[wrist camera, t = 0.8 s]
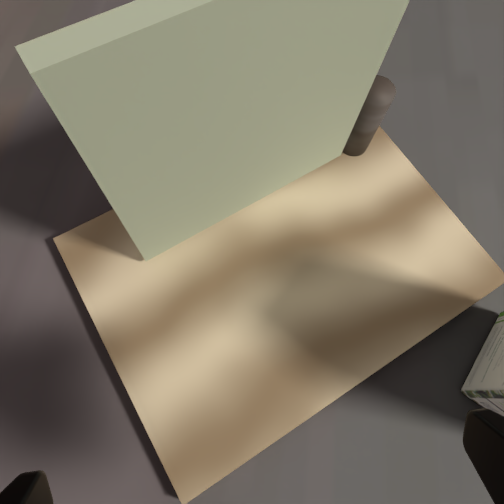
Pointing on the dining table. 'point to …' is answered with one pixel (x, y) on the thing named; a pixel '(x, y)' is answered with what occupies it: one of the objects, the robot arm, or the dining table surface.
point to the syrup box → (489, 372)
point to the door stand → (277, 301)
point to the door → (209, 100)
